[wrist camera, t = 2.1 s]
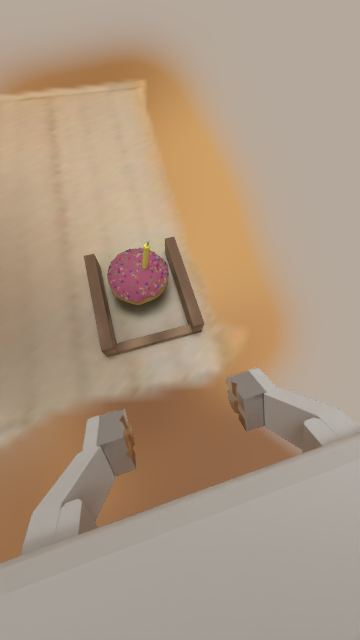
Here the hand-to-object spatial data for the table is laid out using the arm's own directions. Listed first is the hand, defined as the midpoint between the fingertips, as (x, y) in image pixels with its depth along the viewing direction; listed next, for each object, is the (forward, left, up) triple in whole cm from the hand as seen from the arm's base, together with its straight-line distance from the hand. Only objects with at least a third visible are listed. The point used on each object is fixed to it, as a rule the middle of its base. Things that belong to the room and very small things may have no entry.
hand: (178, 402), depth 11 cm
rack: (0, +17, -23) cm, 29 cm away
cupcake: (0, +18, -24) cm, 30 cm away
